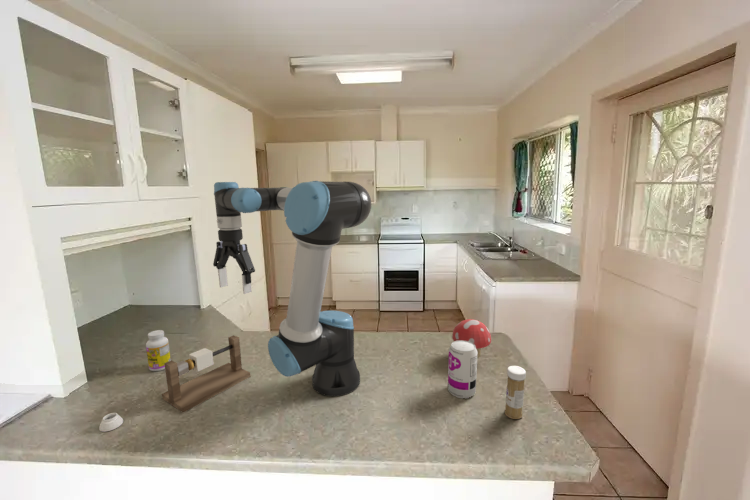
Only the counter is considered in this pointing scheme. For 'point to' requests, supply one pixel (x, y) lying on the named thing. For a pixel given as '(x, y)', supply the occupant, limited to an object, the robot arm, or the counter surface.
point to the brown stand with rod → (203, 379)
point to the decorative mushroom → (472, 334)
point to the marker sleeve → (202, 359)
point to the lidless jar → (110, 422)
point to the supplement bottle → (157, 350)
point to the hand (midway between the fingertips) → (235, 289)
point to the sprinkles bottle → (515, 392)
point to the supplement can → (462, 369)
